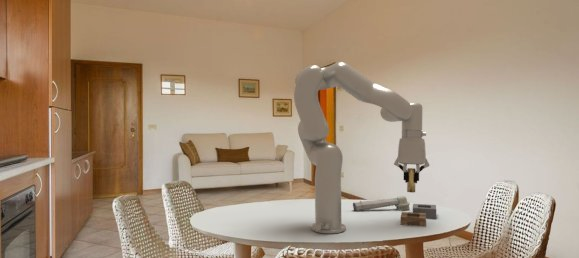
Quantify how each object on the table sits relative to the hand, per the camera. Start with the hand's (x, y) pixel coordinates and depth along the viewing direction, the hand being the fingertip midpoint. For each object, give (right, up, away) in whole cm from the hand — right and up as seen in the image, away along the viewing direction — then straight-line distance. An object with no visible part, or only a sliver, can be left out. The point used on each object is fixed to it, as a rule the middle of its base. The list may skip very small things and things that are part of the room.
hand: (411, 182), depth 142 cm
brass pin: (0, -4, 0) cm, 4 cm away
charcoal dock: (+9, -16, +11) cm, 21 cm away
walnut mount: (+1, -16, 0) cm, 16 cm away
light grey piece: (-6, -16, +23) cm, 29 cm away
